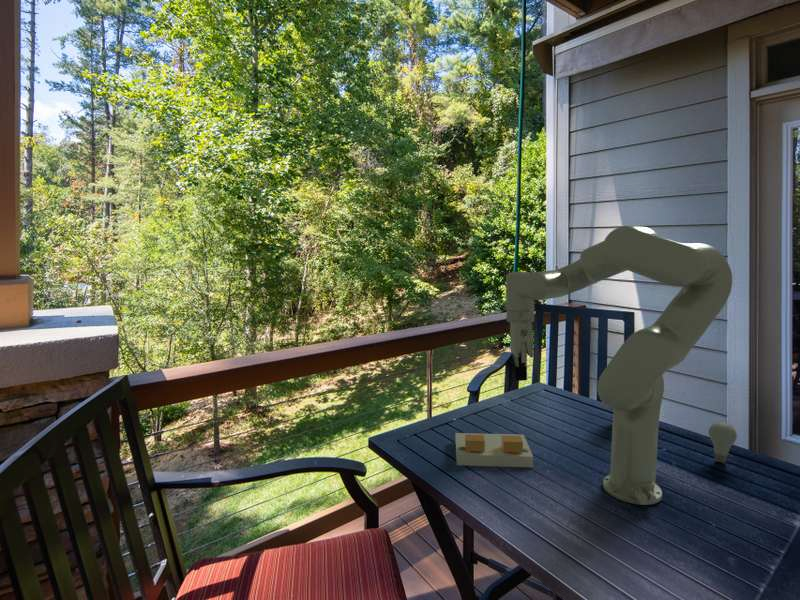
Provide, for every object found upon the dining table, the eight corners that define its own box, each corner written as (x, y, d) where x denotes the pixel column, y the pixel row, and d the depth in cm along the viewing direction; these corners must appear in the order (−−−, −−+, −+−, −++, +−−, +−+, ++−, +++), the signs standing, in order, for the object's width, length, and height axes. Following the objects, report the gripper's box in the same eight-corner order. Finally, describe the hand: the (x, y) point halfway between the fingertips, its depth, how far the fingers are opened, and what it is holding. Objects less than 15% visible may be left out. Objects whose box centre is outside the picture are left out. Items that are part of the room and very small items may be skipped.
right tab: (522, 452, 121) (522, 442, 121) (503, 452, 121) (503, 441, 121) (520, 446, 125) (520, 435, 125) (501, 445, 125) (501, 435, 125)
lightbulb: (722, 469, 117) (725, 428, 116) (700, 459, 123) (703, 420, 122) (740, 466, 119) (743, 426, 118) (718, 455, 125) (721, 417, 123)
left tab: (484, 451, 122) (484, 441, 122) (465, 451, 122) (465, 440, 122) (483, 445, 126) (483, 434, 126) (465, 444, 126) (465, 434, 126)
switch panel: (533, 467, 120) (533, 456, 119) (456, 465, 122) (456, 454, 121) (523, 444, 134) (523, 434, 133) (455, 442, 135) (455, 432, 135)
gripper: (539, 319, 120) (540, 387, 122) (528, 312, 135) (528, 372, 136) (511, 320, 120) (511, 387, 122) (502, 312, 135) (503, 373, 137)
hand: (520, 379), depth 129 cm, fingers closed
